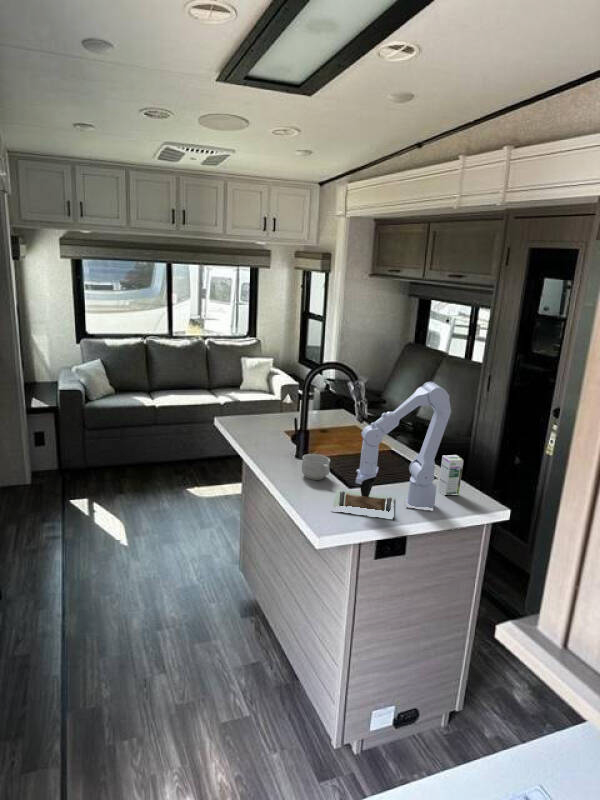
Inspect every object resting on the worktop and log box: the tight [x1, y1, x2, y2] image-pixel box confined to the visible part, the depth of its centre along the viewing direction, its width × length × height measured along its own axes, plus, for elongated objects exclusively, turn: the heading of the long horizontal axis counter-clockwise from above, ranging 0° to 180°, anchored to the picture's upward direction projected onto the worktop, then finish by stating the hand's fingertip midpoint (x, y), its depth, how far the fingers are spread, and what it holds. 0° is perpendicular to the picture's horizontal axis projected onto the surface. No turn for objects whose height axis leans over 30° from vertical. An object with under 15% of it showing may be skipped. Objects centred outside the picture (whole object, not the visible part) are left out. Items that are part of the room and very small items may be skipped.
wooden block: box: [345, 493, 386, 511], centre depth 189 cm, size 14×1×4 cm, turn 81°
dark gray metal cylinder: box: [339, 491, 392, 512], centre depth 189 cm, size 18×2×6 cm, turn 80°
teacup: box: [301, 453, 331, 481], centre depth 213 cm, size 14×11×8 cm
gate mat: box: [332, 488, 396, 508], centre depth 194 cm, size 21×18×1 cm
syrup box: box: [437, 454, 464, 495], centre depth 208 cm, size 6×6×14 cm
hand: (365, 496), depth 194 cm, fingers closed
